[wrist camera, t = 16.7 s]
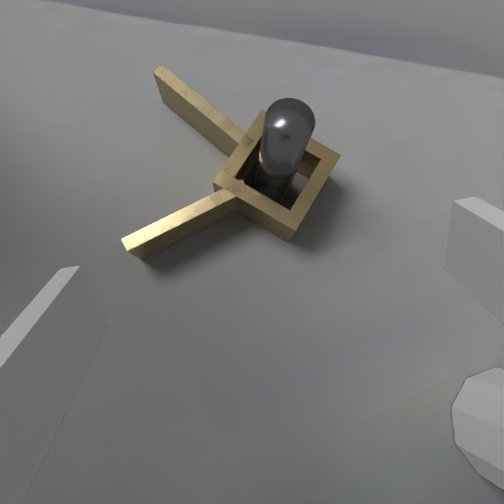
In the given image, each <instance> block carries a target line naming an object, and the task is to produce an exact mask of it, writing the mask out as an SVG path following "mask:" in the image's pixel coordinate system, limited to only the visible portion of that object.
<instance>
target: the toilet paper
mask: <svg viewBox="0 0 504 504" xmlns="http://www.w3.org/2000/svg"><path fill="white" fill-rule="evenodd" d="M451 408H452V417H453V426H454V435H455V444H456V445H457V446H458V448H459V449H460V450H461V452H462V453H463V454H464V456H465V457H466V458H467V460H468V461H469V462H470V464H471V465H472V466H473V467H474V469H475V470H476V471H477V473H478V474H479V475H481V476H482V477H484V478H486V479H487V480H489V481H490V482H492V483H493V484H495V485H497V486H498V487H500V488H501V489H503V490H504V369H501V368H496V367H495V368H493V369H490V370H487V371H485V372H482V373H479V374H477V375H474V376H472V377H469V378H467V379H466V381H465V383H464V385H463V387H462V388H461V390H460V392H459V394H458V396H457V398H456V400H455V401H454V403H453V405H452V407H451Z"/></svg>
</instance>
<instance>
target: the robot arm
mask: <svg viewBox="0 0 504 504" xmlns="http://www.w3.org/2000/svg"><path fill="white" fill-rule="evenodd" d="M444 269H445V270H446V271H447V272H448V273H449V274H450V275H451V276H452V277H453V278H454V279H455V280H456V281H457V282H459V283H460V284H461V285H462V286H463V287H464V288H465V289H466V290H467V291H468V292H469V293H470V294H471V295H472V296H473V297H474V298H475V299H476V300H477V301H479V302H480V303H481V304H482V305H483V306H484V307H485V308H486V309H487V310H488V311H489V312H490V313H491V314H492V315H493V316H494V317H495V318H496V319H497V320H498V321H500V322H501V323H502V324H503V325H504V211H502V210H500V209H498V208H496V207H494V206H492V205H490V204H489V203H487V202H485V201H483V200H481V199H479V198H477V197H471V198H465V199H459V200H454V201H453V203H452V211H451V218H450V225H449V233H448V240H447V247H446V255H445V262H444ZM109 324H110V323H109V321H108V319H107V317H106V315H105V313H104V311H103V309H102V307H101V305H100V303H99V301H98V299H97V297H96V295H95V293H94V291H93V289H92V287H91V285H90V283H89V281H88V279H87V277H86V275H85V273H84V271H83V269H82V267H81V265H79V266H73V267H68V268H62V269H59V270H58V272H57V273H56V274H55V275H54V276H53V277H52V278H51V280H50V281H49V282H48V283H47V284H46V285H45V287H44V288H43V289H42V290H41V291H40V292H39V293H38V295H37V296H36V297H35V298H34V299H33V300H32V301H31V303H30V304H29V305H28V306H27V307H26V308H25V309H24V311H23V312H22V313H21V314H20V315H19V316H18V317H17V319H16V320H15V321H14V322H13V323H12V324H11V326H10V327H9V328H8V329H7V330H6V331H5V332H4V334H3V335H2V336H1V337H0V504H22V502H23V500H24V498H25V496H26V494H27V492H28V490H29V488H30V486H31V484H32V482H33V480H34V478H35V476H36V474H37V471H38V469H39V467H40V465H41V463H42V461H43V459H44V457H45V455H46V453H47V451H48V449H49V447H50V445H51V443H52V441H53V439H54V437H55V435H56V433H57V431H58V428H59V426H60V424H61V422H62V420H63V418H64V416H65V414H66V412H67V410H68V408H69V406H70V404H71V402H72V400H73V398H74V396H75V394H76V392H77V390H78V388H79V385H80V383H81V381H82V379H83V377H84V375H85V373H86V371H87V369H88V367H89V365H90V363H91V361H92V359H93V357H94V355H95V353H96V351H97V349H98V347H99V345H100V342H101V340H102V338H103V336H104V334H105V332H106V330H107V328H108V326H109Z"/></svg>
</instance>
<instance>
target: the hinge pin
mask: <svg viewBox="0 0 504 504" xmlns="http://www.w3.org/2000/svg"><path fill="white" fill-rule="evenodd" d="M314 127H315V117H314V114H313V112H312V110H311V109H310V108H309V106H308V105H306V104H305V103H304V102H302V101H300V100H297V99H293V98H284V99H280V100H277V101H276V102H274V103H273V104H272V105H271V106H270V107H269V108H268V110H267V112H266V115H265V121H264V127H263V134H262V140H261V147H260V153H259V159H258V166H257V172H256V178H255V185H254V189H255V190H256V191H258V192H259V193H261V194H263V195H264V196H266V197H268V198H269V199H271V200H273V201H275V202H276V203H277V202H280V201H281V200H283V199H284V198H285V196H286V194H287V192H288V190H289V187H290V185H291V182H292V180H293V178H294V175H295V173H296V171H297V168H298V166H299V163H300V161H301V159H302V156H303V154H304V151H305V149H306V147H307V144H308V142H309V140H310V137H311V135H312V132H313V130H314Z"/></svg>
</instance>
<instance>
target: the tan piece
mask: <svg viewBox="0 0 504 504" xmlns="http://www.w3.org/2000/svg"><path fill="white" fill-rule="evenodd" d="M153 74H154V77H155V80H156V83H157V86H158V89H159V92H160V95H161V98H162V101H163V103H165V104H166V105H167V106H168V107H169V108H171V109H172V110H173V111H174V112H175V113H177V114H178V115H179V116H180V117H181V118H183V119H184V120H185V121H186V122H187V123H189V124H190V125H191V126H192V127H193V128H194V129H196V130H197V131H198V132H199V133H200V134H202V135H203V136H204V137H205V138H206V139H208V140H209V141H210V142H211V143H212V144H214V145H215V146H216V147H217V148H218V149H220V150H221V151H222V152H223V153H224V154H226V155H227V156H228V157H229V159H228V160H227V162H226V163H225V165H224V166H223V168H222V169H221V171H220V172H219V174H218V175H217V177H216V178H215V180H214V181H213V186H214V193H213V194H211V195H209V196H207V197H205V198H203V199H201V200H199V201H197V202H195V203H193V204H191V205H189V206H187V207H185V208H183V209H181V210H179V211H177V212H175V213H173V214H171V215H169V216H167V217H165V218H163V219H161V220H159V221H157V222H155V223H153V224H151V225H149V226H147V227H145V228H143V229H141V230H139V231H137V232H135V233H133V234H131V235H129V236H127V237H124V238H122V239H121V240H122V242H123V244H124V246H125V248H126V250H127V251H128V252H129V253H131V254H133V255H134V256H136V257H137V258H139V259H141V260H142V259H144V258H146V257H148V256H150V255H152V254H154V253H156V252H158V251H160V250H162V249H164V248H166V247H168V246H170V245H172V244H174V243H176V242H178V241H180V240H182V239H184V238H186V237H188V236H190V235H191V234H193V233H195V232H197V231H199V230H201V229H203V228H205V227H207V226H209V225H211V224H213V223H215V222H217V221H219V220H221V219H223V218H225V217H227V216H229V215H231V214H233V213H235V212H238V213H239V214H241V215H243V216H244V217H246V218H248V219H249V220H251V221H253V222H254V223H256V224H258V225H260V226H261V227H263V228H265V229H266V230H268V231H270V232H271V233H273V234H275V235H276V236H278V237H280V238H281V239H283V240H285V241H286V242H288V241H289V240H290V239H291V237H292V236H293V234H294V233H295V231H296V230H297V228H298V226H299V225H300V223H301V221H302V220H303V218H304V216H305V215H306V213H307V211H308V210H309V208H310V206H311V205H312V203H313V201H314V200H315V198H316V196H317V195H318V193H319V191H320V189H321V188H322V186H323V184H324V183H325V181H326V179H327V178H328V176H329V174H330V173H331V171H332V169H333V168H334V166H335V164H336V163H337V161H338V159H339V158H340V156H341V155H340V154H338V153H336V152H335V151H333V150H331V149H329V148H328V147H326V146H324V145H322V144H321V143H319V142H317V141H315V140H314V139H312V138H310V140H309V142H308V144H307V147H306V149H305V151H304V154H303V156H302V159H301V161H300V163H299V166H298V168H297V171H298V172H299V173H301V174H303V175H305V176H306V177H308V178H310V179H309V180H308V182H307V183H306V185H305V187H304V188H303V190H302V192H301V193H300V195H299V197H298V198H297V200H296V202H295V203H294V205H293V206H292V208H291V210H288V209H286V208H285V207H283V206H281V205H280V204H278V203H276V202H275V201H273V200H271V199H269V198H268V197H266V196H264V195H263V194H261V193H259V192H258V191H256V190H254V189H252V188H251V187H249V186H247V185H246V184H245V183H244V182H243V181H244V179H245V178H246V176H247V175H248V173H249V172H250V170H251V169H252V167H253V166H254V164H255V163H256V161H257V159H258V158H259V153H260V147H261V140H262V134H263V127H264V121H265V115H266V112H265V111H263V110H261V112H260V113H259V115H258V116H257V118H256V119H255V121H254V122H253V124H252V125H251V126H250V128H249V129H248V131H247V132H246V134H245V133H244V132H243V131H242V130H240V129H239V128H238V127H237V126H236V125H234V124H233V123H232V122H231V121H230V120H228V119H227V118H226V117H225V116H224V115H222V114H221V113H220V112H219V111H217V110H216V109H215V108H214V107H213V106H211V105H210V104H209V103H208V102H207V101H205V100H204V99H203V98H202V97H200V96H199V95H198V94H197V93H196V92H194V91H193V90H192V89H191V88H190V87H188V86H187V85H186V84H185V83H183V82H182V81H181V80H180V79H179V78H177V77H176V76H175V75H174V74H173V73H171V72H170V71H169V70H168V69H166V68H165V67H164V66H163V65H161V66H160V67H159V68H157V69H156V70H155V71H154V72H153Z"/></svg>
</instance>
